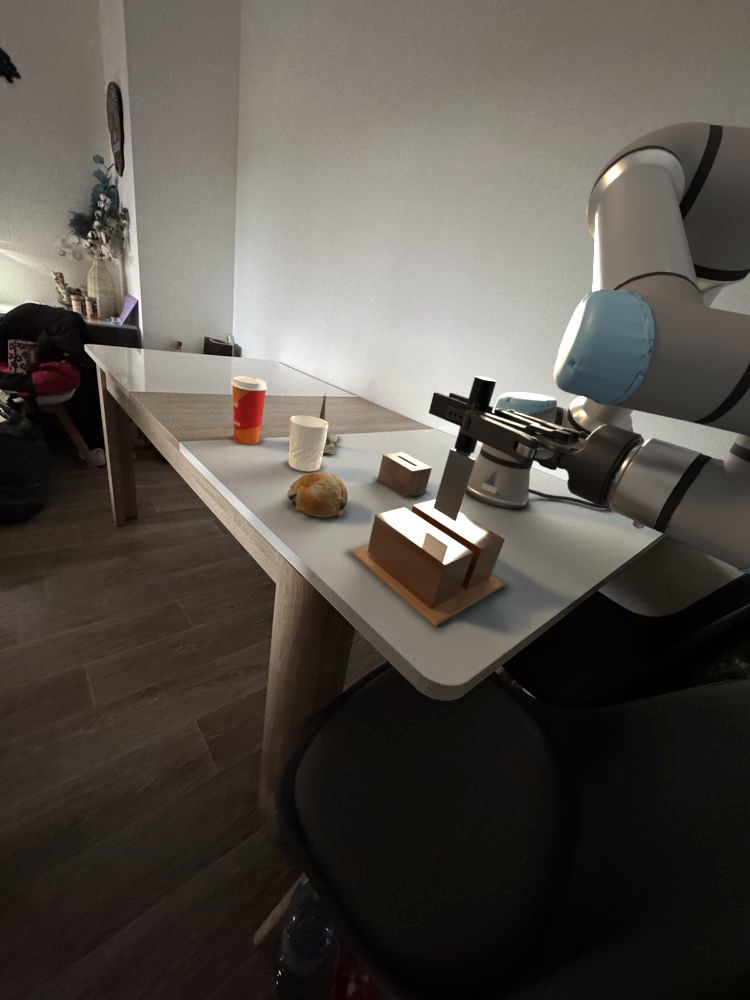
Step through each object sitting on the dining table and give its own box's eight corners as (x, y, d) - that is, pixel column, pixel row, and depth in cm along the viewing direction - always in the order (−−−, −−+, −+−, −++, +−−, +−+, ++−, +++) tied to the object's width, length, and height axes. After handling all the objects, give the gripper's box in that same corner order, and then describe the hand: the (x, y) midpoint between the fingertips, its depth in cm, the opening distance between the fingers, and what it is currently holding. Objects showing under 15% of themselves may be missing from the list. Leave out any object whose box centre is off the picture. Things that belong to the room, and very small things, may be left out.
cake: (503, 586, 59) (521, 544, 55) (435, 626, 48) (452, 577, 45) (422, 530, 69) (432, 492, 66) (351, 553, 59) (360, 509, 55)
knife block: (425, 493, 84) (432, 467, 82) (405, 497, 80) (412, 471, 78) (396, 476, 90) (402, 451, 87) (377, 479, 86) (382, 454, 83)
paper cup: (236, 432, 95) (238, 373, 89) (267, 438, 96) (271, 380, 90) (224, 442, 88) (225, 379, 82) (257, 448, 89) (261, 386, 83)
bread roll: (322, 540, 67) (348, 508, 63) (273, 504, 66) (297, 470, 62) (338, 515, 76) (362, 486, 72) (295, 482, 75) (317, 451, 71)
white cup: (319, 475, 82) (326, 429, 78) (282, 468, 81) (286, 422, 77) (324, 462, 89) (330, 419, 85) (290, 456, 88) (294, 412, 84)
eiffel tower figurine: (300, 431, 105) (305, 381, 100) (337, 437, 107) (345, 388, 101) (292, 450, 92) (298, 393, 86) (335, 457, 93) (344, 401, 88)
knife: (461, 519, 54) (505, 383, 46) (449, 523, 52) (493, 382, 44) (439, 506, 57) (478, 375, 49) (427, 509, 55) (466, 374, 47)
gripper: (577, 524, 34) (393, 432, 48) (633, 496, 44) (467, 427, 59) (616, 441, 30) (406, 370, 45) (667, 432, 41) (482, 376, 55)
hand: (441, 403), depth 52 cm, fingers closed on knife, 3 cm apart
